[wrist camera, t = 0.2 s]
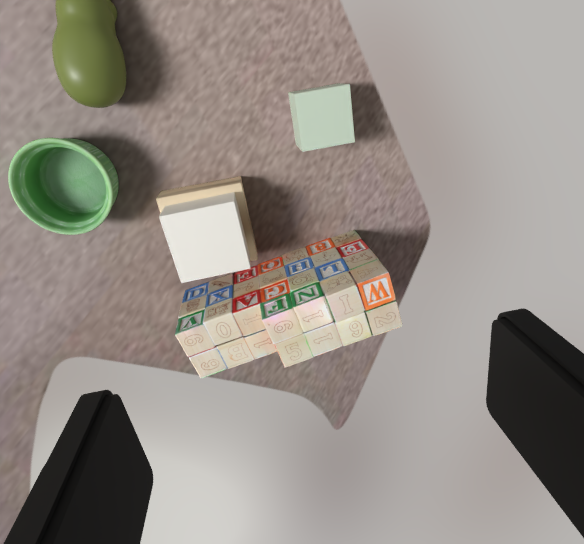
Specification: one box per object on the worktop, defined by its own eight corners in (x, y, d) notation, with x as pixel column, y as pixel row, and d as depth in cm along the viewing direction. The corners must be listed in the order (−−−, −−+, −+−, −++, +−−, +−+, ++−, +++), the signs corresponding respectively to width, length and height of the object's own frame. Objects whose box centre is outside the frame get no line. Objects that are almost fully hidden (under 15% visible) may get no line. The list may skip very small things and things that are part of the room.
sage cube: (288, 92, 40) (294, 94, 36) (337, 83, 40) (349, 84, 36) (295, 144, 42) (302, 151, 38) (342, 135, 43) (354, 142, 38)
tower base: (162, 190, 43) (155, 198, 40) (241, 175, 43) (240, 182, 40) (184, 261, 47) (180, 274, 44) (256, 247, 47) (257, 259, 44)
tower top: (165, 205, 40) (158, 216, 37) (234, 191, 41) (234, 201, 37) (185, 268, 43) (181, 283, 40) (249, 254, 44) (250, 268, 40)
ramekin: (104, 123, 39) (89, 128, 35) (137, 210, 43) (127, 223, 39) (13, 143, 39) (-13, 150, 35) (54, 229, 43) (36, 244, 39)
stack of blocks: (206, 330, 51) (196, 400, 40) (184, 289, 48) (167, 351, 37) (368, 272, 50) (404, 327, 39) (355, 227, 47) (390, 272, 36)
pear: (49, 102, 33) (28, -41, 31) (75, 110, 38) (59, -12, 36) (120, 104, 34) (106, -37, 31) (136, 111, 39) (125, -9, 36)
